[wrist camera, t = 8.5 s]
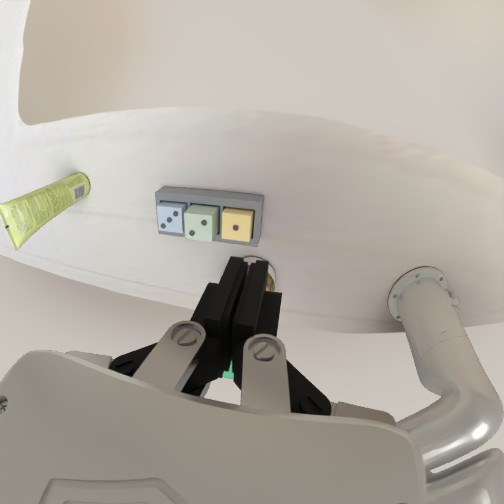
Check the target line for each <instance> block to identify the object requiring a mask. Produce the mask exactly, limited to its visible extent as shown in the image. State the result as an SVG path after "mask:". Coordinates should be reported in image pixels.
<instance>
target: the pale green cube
mask: <svg viewBox="0 0 504 504" xmlns="http://www.w3.org/2000/svg"><path fill="white" fill-rule="evenodd" d="M184 223H185V239H191V240H198V241H206V242H213V240H214V238H215V237H216V235H217V233H218V232H219V207H218V206H209V205H199V204H192V205H191V206H190V207H189V208H188V209H187V210H186V211H185V212H184Z"/></svg>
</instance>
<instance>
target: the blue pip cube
mask: <svg viewBox="0 0 504 504" xmlns="http://www.w3.org/2000/svg"><path fill="white" fill-rule="evenodd" d="M187 209H188V204H187V202H176V201H162V202H161V203H160V204H159V205H157V215H158V227H159V230H160V231H168V232H175V233H183V232H184V231H185V223H184V212H185V211H186V210H187Z"/></svg>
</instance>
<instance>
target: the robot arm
mask: <svg viewBox="0 0 504 504" xmlns="http://www.w3.org/2000/svg"><path fill="white" fill-rule="evenodd" d="M268 268H269V261H263V260H256V263H253V262H251V265H250V268H249V271H248V262H245V261H244V258H240V257H233V256H231V257H230V259H229V262H228V264H227V266H226V268H225V271H224V273H223V275H222V277H221V280H220V282H219V284H217V283H208V285H207V287H206V289H205V291H204V293H203V295H202V297H201V299H200V301H199V303H198V305H197V307H196V309H195V311H194V314H193V316H192V318H191V320H190V321H181V322H177V323H175V324H174V325H172V326H171V327H170V328H169V329H168V330H167V332H166V333H165V334H164V336H163V337H162V338H161V340H160V341H159V342H157V343H155V344H152V345H149V346H146V347H144V348H141V349H138V350H136V351H133V352H130V353H127V354H124V355H121V356H119V357H117V358H115V359H112V357H111V356H105V355H98V354H91V353H85V352H78V351H69V352H66V353H63V352H58V351H52V350H35V351H30V352H28V353H26V354H25V355H23V356H22V357H21V358H20V359H19V360H18V361H17V362H16V363H15V364H14V365H13V366H12V368H11V369H10V370H9V371H8V373H7V374H6V375H5V377H4V378H3V379H2V381H1V382H0V504H504V453H503V452H502V451H501V450H500V449H497V448H493V449H489V450H486V451H484V452H481V453H479V454H477V455H475V456H473V457H471V458H469V459H467V460H465V461H463V462H461V463H459V464H456V465H454V466H452V467H450V468H448V469H445V470H443V471H441V472H438V473H432V472H431V471H430V470H432V469H434V468H437V467H439V466H441V465H444V464H446V463H449V462H451V461H453V460H455V459H457V458H459V457H461V456H464V455H466V454H468V453H469V452H471V451H473V450H475V449H477V448H478V447H480V446H481V445H483V444H484V443H486V442H487V441H488V440H489V439H491V438H492V437H493V435H494V434H495V433H496V432H497V431H498V429H499V428H500V426H501V424H502V421H503V415H504V414H503V413H504V411H503V406H502V402H501V400H500V398H499V395H498V393H497V392H496V390H495V388H494V387H493V385H492V383H491V381H490V380H489V378H488V376H487V375H486V373H485V371H484V369H483V367H482V365H481V363H480V361H479V359H478V357H477V355H476V353H475V351H474V348H473V346H472V344H471V342H470V340H469V338H468V335H467V333H466V331H465V329H464V327H463V325H462V323H461V321H460V319H459V317H458V308H454V307H453V306H452V305H454V306H458V304H459V299H457V298H451V297H450V296H449V294H448V283H447V280H446V278H445V276H444V275H443V274H442V272H440V271H439V270H438V269H435V268H431V267H422V268H418V269H415V270H412V271H410V272H409V273H407V274H405V275H404V276H403V277H402V278H400V279H399V280H398V281H397V282H396V284H395V285H394V286H393V288H392V290H391V292H390V294H389V298H388V307H389V310H390V313H391V315H392V316H393V317H394V318H395V319H396V320H398V321H400V322H402V323H403V326H404V329H405V332H406V336H407V339H408V342H409V345H410V348H411V352H412V355H413V359H414V362H415V366H416V369H417V373H418V376H419V379H420V382H421V383H422V385H423V386H424V387H425V388H426V389H428V390H429V391H431V392H433V393H435V394H438V395H440V396H441V398H440V399H439V400H437V401H436V402H434V403H432V404H431V405H430V406H428V407H426V408H424V409H422V410H420V411H418V412H416V413H415V414H412V415H410V416H408V417H406V418H404V419H402V420H400V421H398V422H395V420H394V418H393V417H392V416H391V415H390V414H389V413H386V412H384V411H379V410H374V409H370V408H365V407H360V406H356V405H352V404H348V403H344V402H340V401H339V402H338V403H334V402H330V401H329V400H328V399H327V397H326V396H325V395H324V394H323V393H322V392H320V391H319V390H318V389H317V388H316V387H315V386H314V385H313V384H312V383H311V382H310V381H308V379H306V378H305V377H304V376H303V375H302V374H301V373H300V372H299V371H298V370H297V369H296V368H295V367H294V366H293V365H292V364H291V363H290V362H289V361H288V360H287V359H286V351H285V347H284V344H283V343H282V342H281V340H280V339H278V338H277V337H276V336H277V328H278V321H279V313H280V306H281V298H282V293H279V292H271V291H266V287H267V277H268ZM247 272H248V274H247ZM231 361H232V373H234V382H235V384H236V385H237V386H238V387H239V389H240V390H241V405H235V404H230V403H225V402H220V401H215V400H211V399H206V398H204V396H205V394H206V393H207V391H208V389H209V386H210V382H211V381H213V380H215V379H217V378H218V377H219V378H222V376H223V373H224V371H225V372H228V371H229V369H230V365H231Z"/></svg>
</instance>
